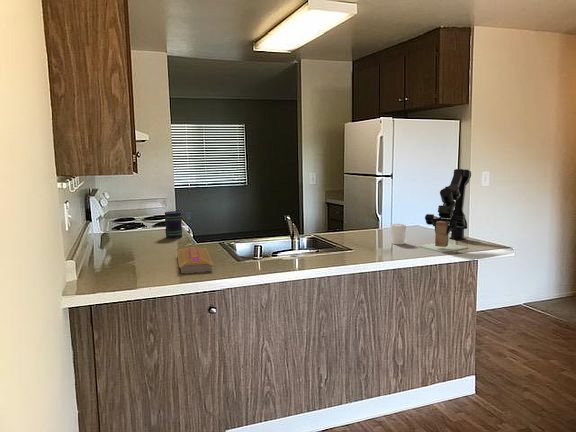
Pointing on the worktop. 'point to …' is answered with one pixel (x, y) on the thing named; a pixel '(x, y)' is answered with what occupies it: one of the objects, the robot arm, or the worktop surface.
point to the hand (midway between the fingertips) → (441, 234)
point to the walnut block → (441, 234)
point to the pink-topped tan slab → (194, 259)
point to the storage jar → (173, 224)
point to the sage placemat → (442, 249)
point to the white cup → (398, 233)
